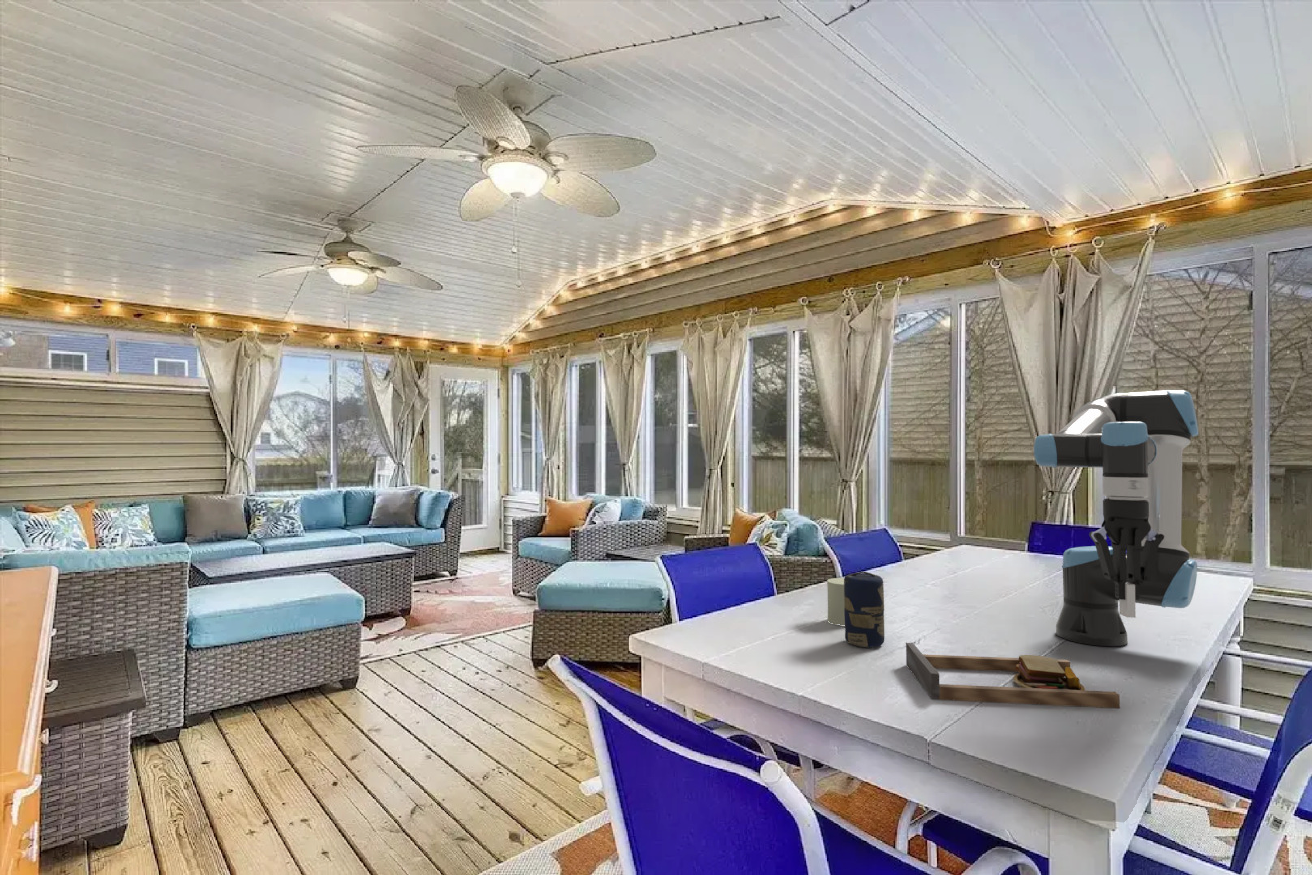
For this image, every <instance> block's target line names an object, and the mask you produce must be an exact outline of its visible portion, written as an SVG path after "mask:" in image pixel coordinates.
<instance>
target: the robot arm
mask: <svg viewBox="0 0 1312 875" xmlns="http://www.w3.org/2000/svg"><path fill="white" fill-rule="evenodd" d="M1198 425H1199V424H1198V419H1197V413H1196V408H1195V405H1194V400H1193V396H1192V394H1191V393H1190V392H1189V391H1187V390H1180V389H1179V390H1169V389H1166V390H1155V391H1154V390H1153V391H1135V392H1118V393H1110V394H1107V395H1103V396H1100V397H1098V398H1096V399H1095V398H1094V399H1093V400H1091V401H1088V402H1086V403H1085V404H1083V405H1082V406H1080V407H1079V408H1078V409H1076V411H1075V412H1074V413H1073V416H1072V420H1070V421H1069V422H1068V423H1067V424H1066V425H1065V426H1064V427H1063V428H1061V430H1059V431H1058V432H1057V433H1047V434H1040V435H1038V436H1036V437H1035V439H1034V441H1033V442H1034V444H1033V456H1034V460H1035V463H1036V465H1038V466H1040V467H1046V468H1047V467H1049V468H1053V469H1054V468H1102V496H1104V497H1105V498H1103V500H1102V514H1103V521H1102V523H1101V526H1100V527H1101V528H1099V529H1097V530H1095V531H1090V532H1089V533H1088V536H1089V537H1090V539H1091V540H1092V541H1093V542H1094V545H1091V546H1089V545H1088V546H1075V547H1071V548H1068V549H1066V550H1064V552H1063V554H1062V555H1063V556H1062V565H1061V568H1062V586H1063V587H1062V589H1063V592H1062V593H1063V594H1062V595H1063V605H1062V607H1061V608H1062V609H1061V611H1060V613H1059V616H1058V619H1057V621H1056V625H1055V630H1056V631H1055V634H1056V635H1057V636H1058V637H1060V638H1062V639H1063V640H1067V641H1071V642H1075V643H1077V644H1084V645H1090V646H1099V647H1120V646H1125V645H1127V644H1128V631H1127V629H1126V626H1125V625H1124V624H1125V623H1124V622H1123V619H1122V616H1123V617H1126V618H1131V619H1133V618H1134V619H1135V618H1137V617H1136V604H1140V605H1141V604H1143V605H1149V606H1150V605H1151V606H1157V607H1161V608H1174V609H1184V608H1187V607H1189V606H1190V604H1191V602H1192V599H1193V596H1194V594H1195V590H1196V589H1195V588H1196V584H1197V577H1198V562H1197V561H1196V560H1194V559H1193V558H1190V551H1188V550H1187V549H1186V548H1185V547H1184V546H1183V545H1182V508H1183V507H1182V506H1183V504H1182V503H1183V502H1182V501H1183V500H1182V499H1183V495H1182V494H1183V451H1184V449H1185V448H1187V447H1188V446H1189V445H1190V444H1191V438H1194V437H1196V436H1199V426H1198ZM1107 537H1108V539H1109V540H1110V541H1111V542H1110V545H1111V546H1109V545H1108V542H1107ZM1121 615H1122V616H1121Z"/></svg>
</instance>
